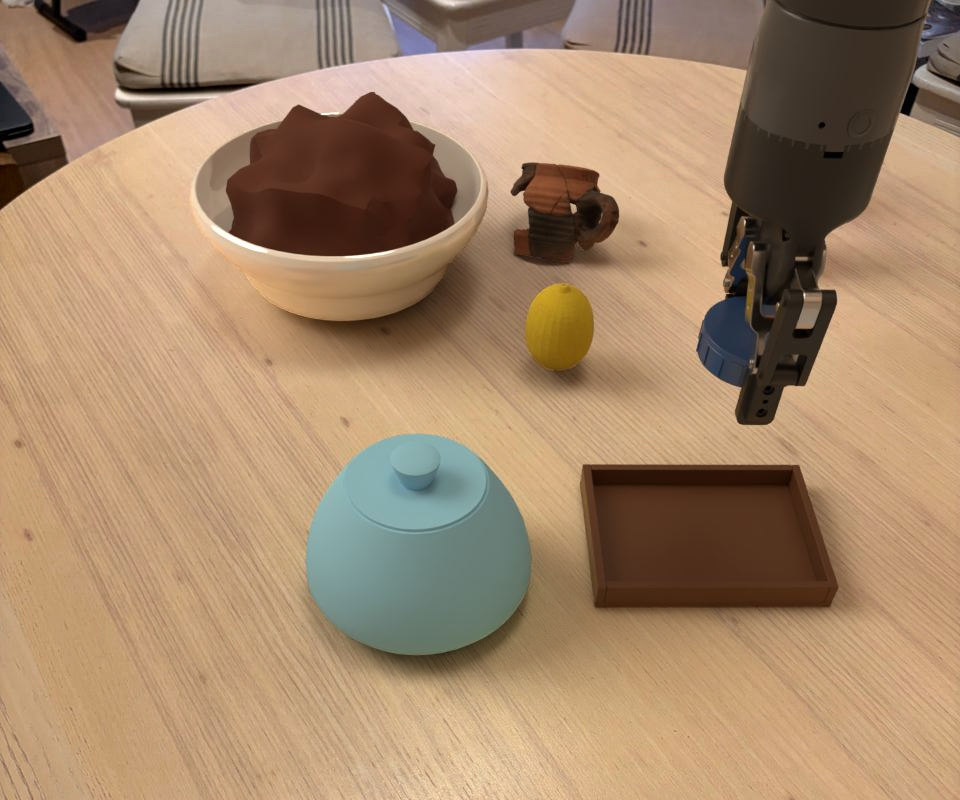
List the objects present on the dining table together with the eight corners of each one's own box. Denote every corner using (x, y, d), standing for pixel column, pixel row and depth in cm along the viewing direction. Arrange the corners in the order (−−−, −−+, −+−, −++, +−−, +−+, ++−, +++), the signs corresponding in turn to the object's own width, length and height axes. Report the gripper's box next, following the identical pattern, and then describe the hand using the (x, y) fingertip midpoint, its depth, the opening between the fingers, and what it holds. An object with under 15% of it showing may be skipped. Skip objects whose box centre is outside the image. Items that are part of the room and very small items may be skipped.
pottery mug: (483, 252, 97) (493, 157, 94) (540, 258, 104) (551, 171, 101) (588, 265, 91) (602, 164, 88) (641, 271, 98) (656, 178, 95)
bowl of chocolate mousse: (158, 331, 87) (113, 156, 76) (279, 191, 102) (256, 27, 91) (434, 390, 83) (431, 215, 71) (518, 236, 98) (527, 70, 86)
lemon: (601, 371, 85) (613, 285, 79) (556, 399, 83) (565, 313, 77) (553, 342, 88) (561, 257, 82) (508, 368, 85) (513, 283, 79)
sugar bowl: (570, 617, 69) (588, 490, 59) (369, 706, 64) (355, 582, 55) (462, 483, 76) (463, 353, 67) (275, 552, 72) (250, 422, 63)
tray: (792, 484, 77) (799, 464, 76) (830, 606, 70) (839, 587, 68) (579, 484, 77) (582, 463, 75) (594, 607, 69) (598, 587, 68)
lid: (691, 379, 59) (698, 352, 58) (701, 314, 63) (708, 287, 62) (804, 400, 59) (814, 373, 57) (806, 333, 63) (816, 306, 61)
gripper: (718, 39, 54) (665, 315, 67) (772, 175, 45) (699, 463, 58) (858, 41, 54) (778, 316, 67) (940, 177, 45) (829, 463, 58)
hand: (742, 383), depth 62 cm, fingers closed on lid, 6 cm apart
